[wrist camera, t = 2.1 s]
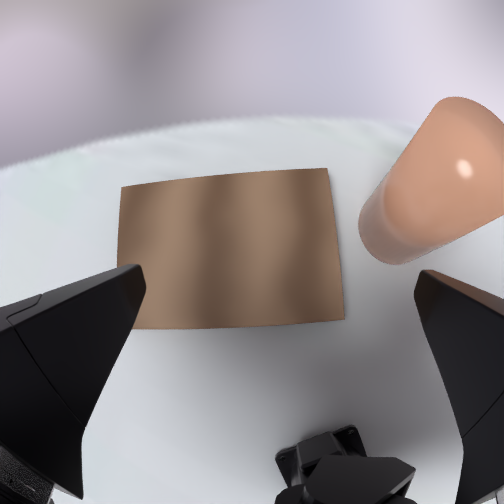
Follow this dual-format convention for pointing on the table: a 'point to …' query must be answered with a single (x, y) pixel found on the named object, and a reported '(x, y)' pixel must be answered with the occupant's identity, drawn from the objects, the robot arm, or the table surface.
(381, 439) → the table surface
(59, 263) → the table surface
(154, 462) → the table surface
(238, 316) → the shelf board
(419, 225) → the peach cylinder
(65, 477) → the robot arm
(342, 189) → the table surface
